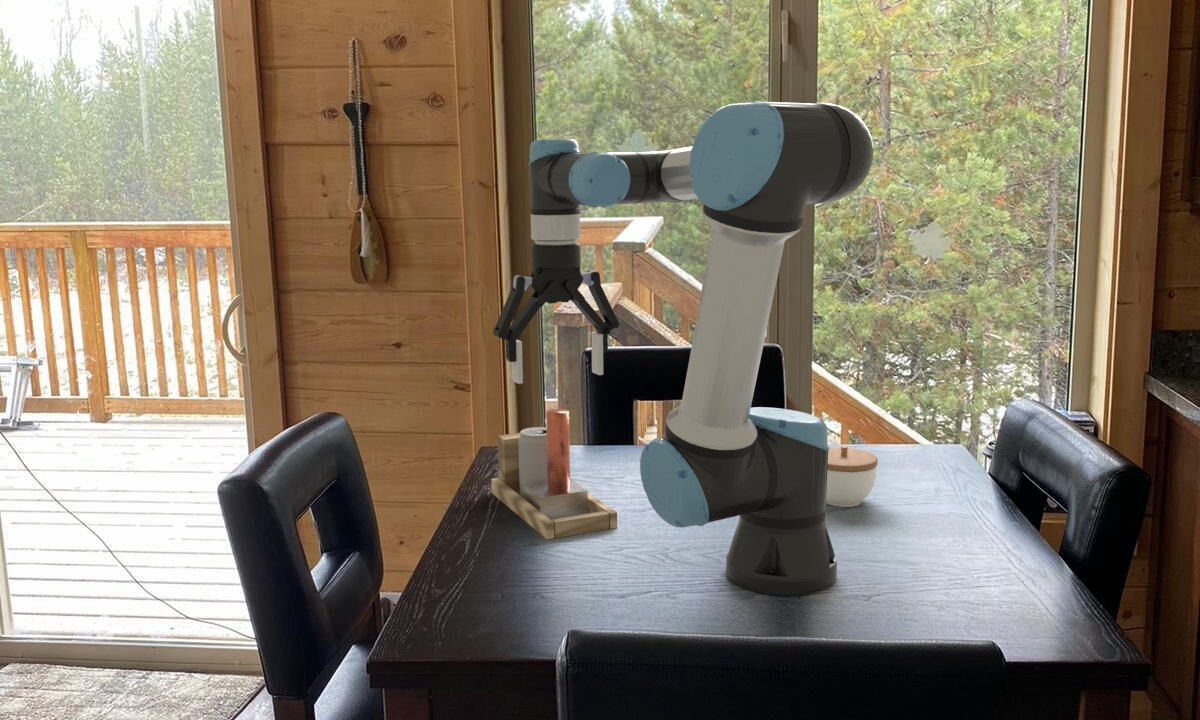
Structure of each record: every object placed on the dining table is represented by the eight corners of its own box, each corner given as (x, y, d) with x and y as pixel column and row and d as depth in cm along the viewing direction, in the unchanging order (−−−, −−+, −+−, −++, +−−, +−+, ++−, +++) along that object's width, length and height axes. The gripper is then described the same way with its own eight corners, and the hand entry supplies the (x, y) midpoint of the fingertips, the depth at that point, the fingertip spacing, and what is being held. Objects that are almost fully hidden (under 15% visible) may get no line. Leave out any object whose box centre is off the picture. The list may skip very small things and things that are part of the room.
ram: (587, 514, 179) (586, 411, 176) (540, 522, 176) (538, 417, 172) (570, 501, 185) (569, 402, 182) (524, 509, 182) (522, 407, 179)
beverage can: (556, 506, 184) (555, 435, 182) (518, 506, 184) (516, 435, 182) (559, 493, 190) (557, 425, 188) (521, 493, 190) (519, 425, 188)
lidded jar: (870, 491, 190) (873, 438, 188) (880, 512, 179) (882, 456, 178) (807, 490, 191) (808, 437, 189) (812, 511, 180) (814, 455, 179)
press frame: (617, 527, 174) (616, 465, 172) (546, 539, 169) (545, 476, 167) (555, 483, 196) (554, 428, 194) (491, 492, 191) (490, 436, 189)
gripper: (618, 236, 179) (619, 366, 183) (470, 243, 169) (474, 381, 173) (639, 239, 172) (640, 374, 177) (486, 248, 162) (490, 390, 166)
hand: (558, 378), depth 175 cm, fingers open, 13 cm apart
